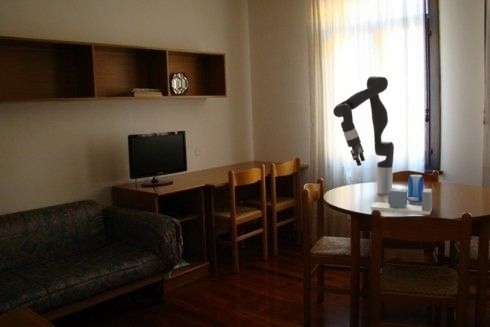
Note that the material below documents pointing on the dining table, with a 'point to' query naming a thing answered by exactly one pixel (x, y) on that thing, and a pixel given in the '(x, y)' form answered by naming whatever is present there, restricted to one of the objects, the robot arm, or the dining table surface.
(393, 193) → the gauge carriage
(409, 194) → the beer can
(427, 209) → the board
